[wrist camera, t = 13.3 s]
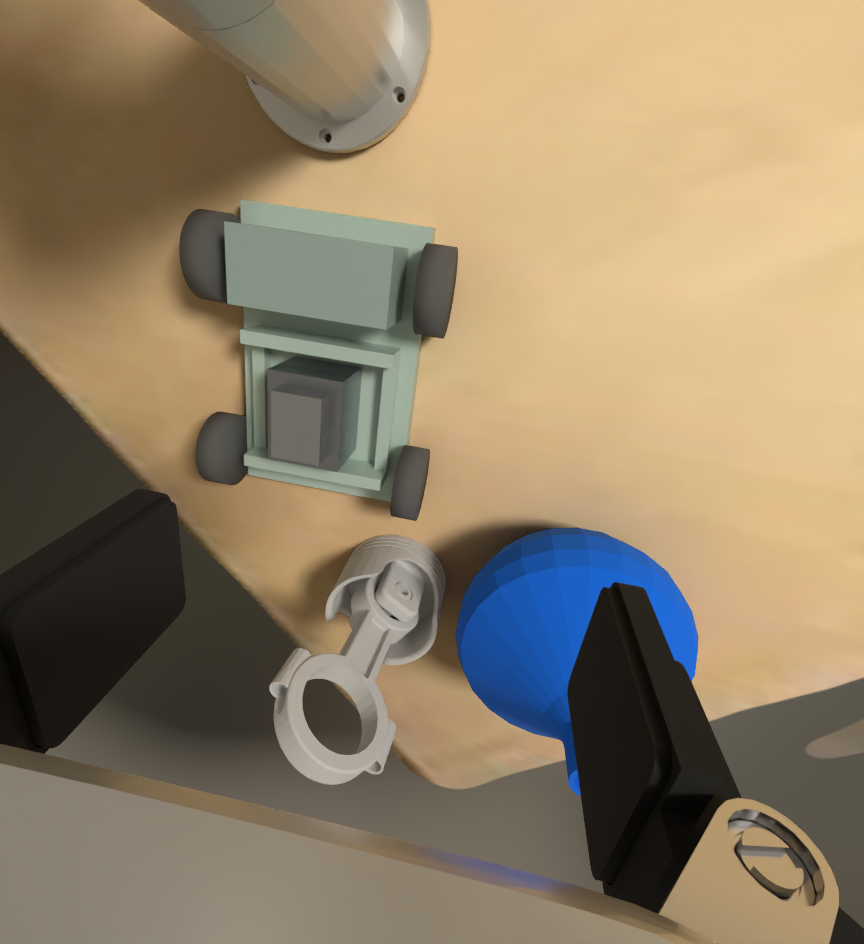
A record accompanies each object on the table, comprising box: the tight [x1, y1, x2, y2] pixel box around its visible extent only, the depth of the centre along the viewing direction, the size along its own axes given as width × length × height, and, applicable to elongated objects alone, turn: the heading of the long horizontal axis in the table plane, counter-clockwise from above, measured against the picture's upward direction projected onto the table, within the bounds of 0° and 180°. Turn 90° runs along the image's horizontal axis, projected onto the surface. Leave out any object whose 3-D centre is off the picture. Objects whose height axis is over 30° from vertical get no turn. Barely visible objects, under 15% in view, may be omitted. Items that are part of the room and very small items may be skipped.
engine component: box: [270, 534, 446, 784], centre depth 39 cm, size 11×20×10 cm
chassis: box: [180, 199, 458, 521], centre depth 37 cm, size 22×18×6 cm
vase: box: [456, 528, 698, 796], centre depth 37 cm, size 18×18×19 cm
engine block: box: [267, 356, 362, 472], centre depth 37 cm, size 7×6×6 cm
